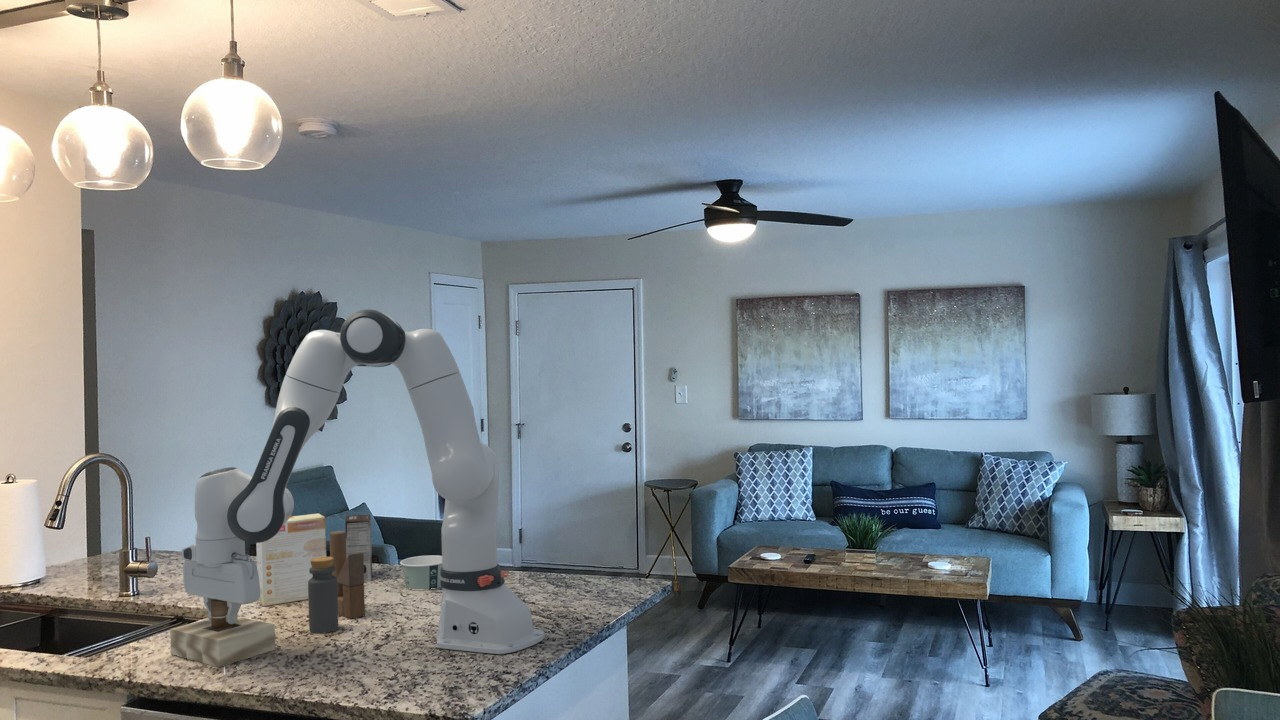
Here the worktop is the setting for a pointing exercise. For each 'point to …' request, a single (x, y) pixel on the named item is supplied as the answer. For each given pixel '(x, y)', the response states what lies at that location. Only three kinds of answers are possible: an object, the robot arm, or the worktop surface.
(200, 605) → the worktop surface
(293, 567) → the coffeecake box
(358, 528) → the coffee box
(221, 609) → the peg
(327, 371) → the robot arm
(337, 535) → the wooden block
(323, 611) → the bottle
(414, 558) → the food container
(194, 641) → the board
